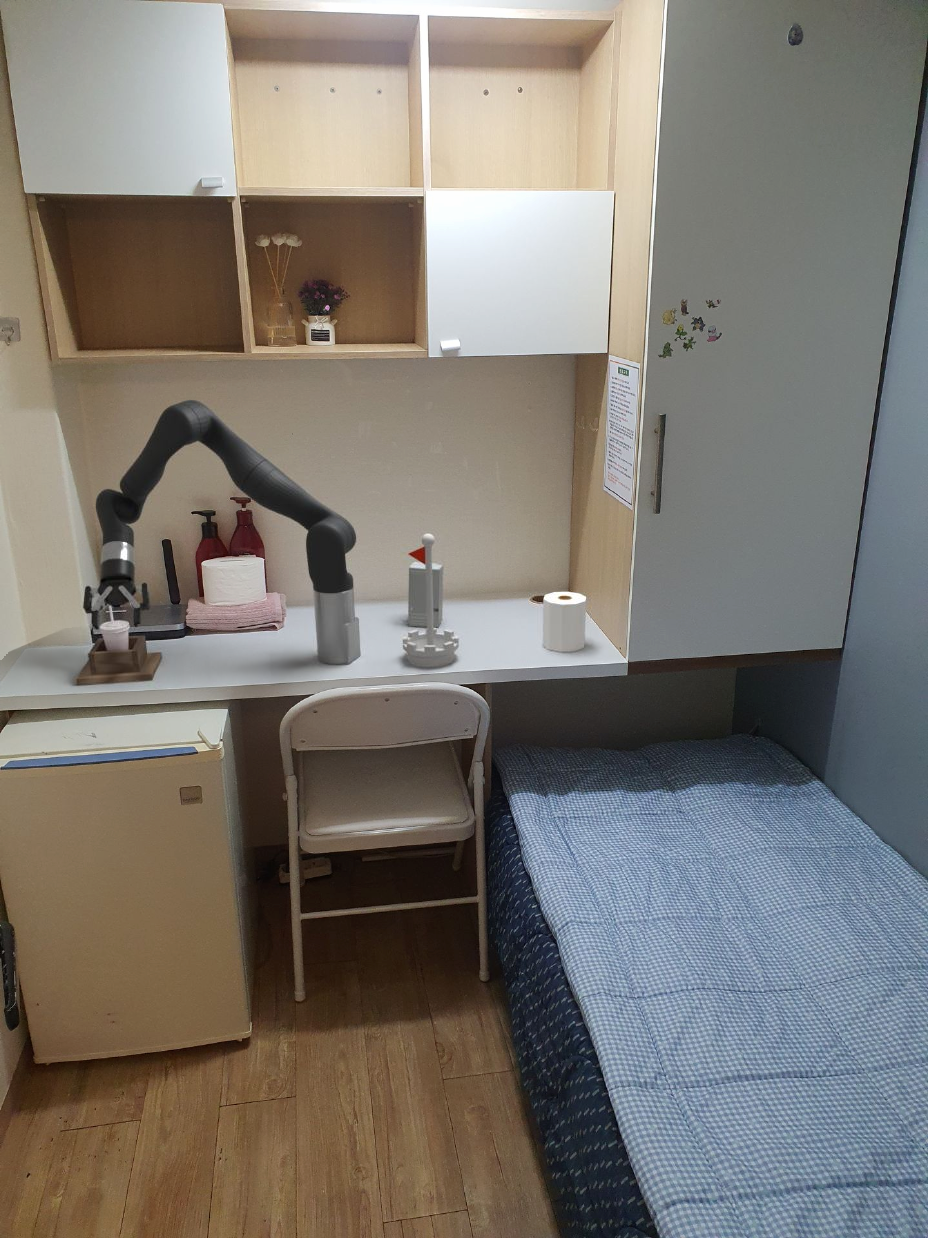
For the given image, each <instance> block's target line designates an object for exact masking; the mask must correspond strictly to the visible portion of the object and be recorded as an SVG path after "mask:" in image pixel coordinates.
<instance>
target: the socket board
mask: <svg viewBox="0 0 928 1238" xmlns="http://www.w3.org/2000/svg"><path fill="white" fill-rule="evenodd" d="M128 647H129V650H117V651H107V649H106V645H105V642H104V639H103V637H99V638H97V639H96V641H95V643H94V645H92V647H91V648H90V650H89V652H88V654H87V657H88V660H87V661H86V663H85V665H84V666H83V667H82V669H81V670H80V672H79V674H78V675H77V677H76V678H75V680H76V686H87V685H89V686H90V685H102V684H116V683H118V684H119V683H130V682H132V683H133V682H142V681H143V682H145V681H146V682H147V681H153V679H154V677H155V674H156V673H157V670H158V668H159V666H160V663H161V662H162V659H163V656H162V655H163V654H162V651H157V652H155V651H154V652H148V646H147V639H146V635H131V636H130V635H128Z"/></svg>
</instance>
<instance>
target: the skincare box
mask: <svg viewBox="0 0 928 1238" xmlns="http://www.w3.org/2000/svg"><path fill="white" fill-rule="evenodd" d="M432 583H433V625H434V628H439V627H440V625H441V623H442V622H443V603H444V602H443V601H444V600H443V599H444V598H443V597H444V596H443V595H444V563H434V562H432ZM407 601H408V603H407V604H408V605H407V606H408V609H407V610H408V611H407V612H408V615H407V616H408V617H407V619H408V621H407V625H408V627H418V628H419V627H421V628H422V627H423V628H425V627H426V628H427V606H426V568H425V564H423V563H421V562H420V561H414V562H412V563H411V564H410V565H409V567H408V600H407ZM441 621H442V622H441Z"/></svg>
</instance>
